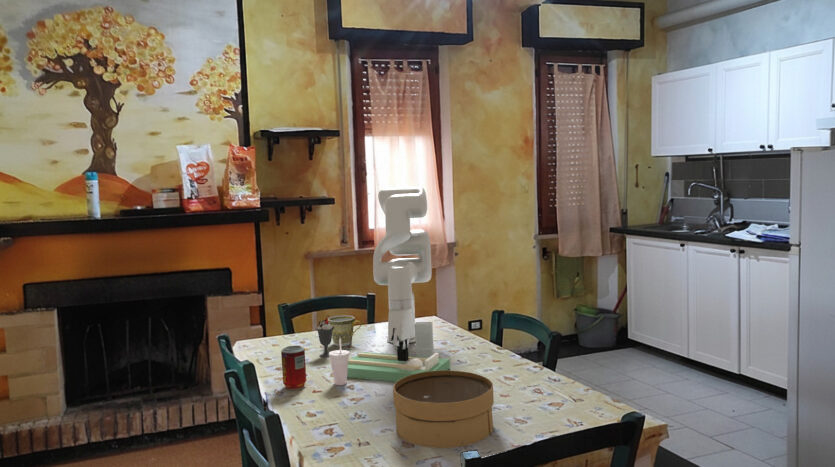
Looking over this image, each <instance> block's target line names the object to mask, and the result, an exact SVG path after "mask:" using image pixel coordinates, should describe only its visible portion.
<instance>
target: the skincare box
mask: <svg viewBox="0 0 835 467" xmlns="http://www.w3.org/2000/svg"><path fill="white" fill-rule="evenodd" d="M414 343H415V356H419V357H431V356H432V355H433V354H435V349H434V347H435V346H434V345H435V344H434V330H433V321H415V342H414Z"/></svg>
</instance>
